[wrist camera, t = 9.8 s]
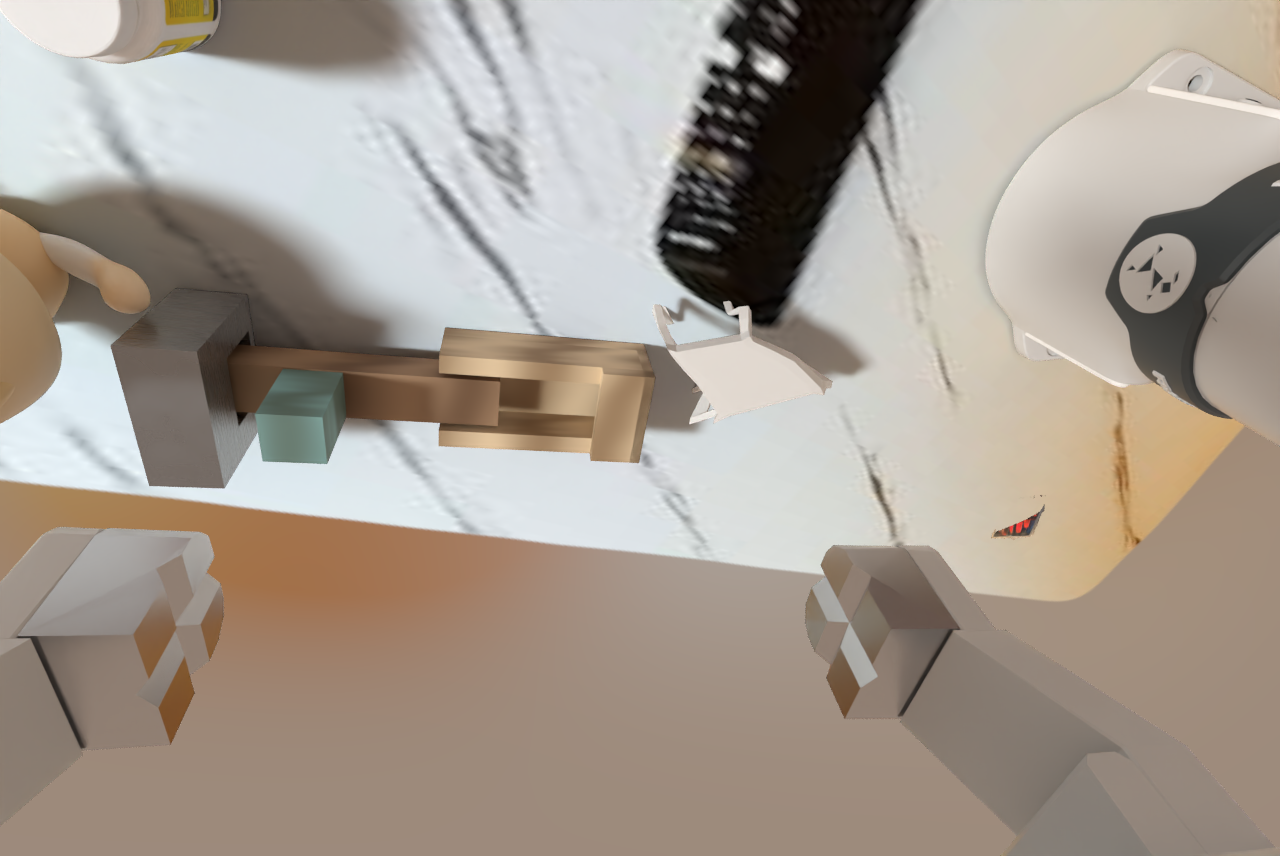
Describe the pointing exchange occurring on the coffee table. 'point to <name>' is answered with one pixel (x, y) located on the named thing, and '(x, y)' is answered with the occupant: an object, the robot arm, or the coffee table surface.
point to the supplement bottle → (115, 26)
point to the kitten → (46, 304)
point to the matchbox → (1020, 528)
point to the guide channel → (554, 393)
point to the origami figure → (739, 369)
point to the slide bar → (347, 396)
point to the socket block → (187, 387)
